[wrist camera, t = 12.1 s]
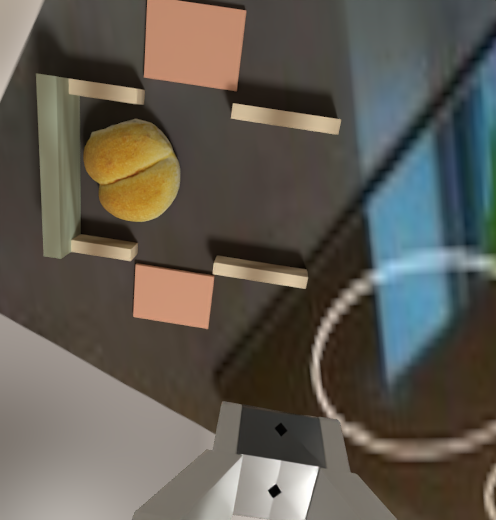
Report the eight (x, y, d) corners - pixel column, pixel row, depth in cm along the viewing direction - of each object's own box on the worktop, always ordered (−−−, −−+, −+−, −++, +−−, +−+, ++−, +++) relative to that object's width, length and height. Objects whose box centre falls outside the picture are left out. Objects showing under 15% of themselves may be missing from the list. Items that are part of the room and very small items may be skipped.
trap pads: (246, 11, 32) (245, 10, 32) (208, 326, 43) (207, 328, 42) (149, -3, 33) (147, -5, 32) (134, 315, 43) (133, 316, 43)
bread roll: (118, 226, 40) (102, 238, 36) (80, 136, 37) (58, 139, 33) (196, 204, 38) (187, 214, 35) (163, 108, 36) (149, 108, 32)
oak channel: (337, 119, 35) (345, 120, 31) (304, 280, 40) (307, 297, 36) (61, 77, 35) (36, 73, 31) (65, 242, 41) (43, 256, 37)
